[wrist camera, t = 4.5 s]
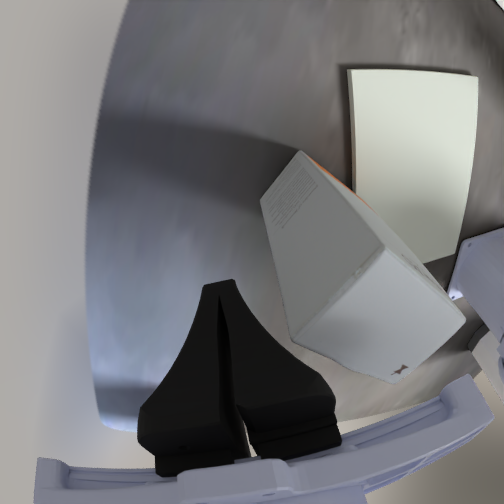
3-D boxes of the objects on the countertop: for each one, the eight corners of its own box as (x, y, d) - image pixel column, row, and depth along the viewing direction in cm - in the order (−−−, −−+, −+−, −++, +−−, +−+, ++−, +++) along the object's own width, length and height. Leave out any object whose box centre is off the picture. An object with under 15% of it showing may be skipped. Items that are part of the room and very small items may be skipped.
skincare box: (366, 200, 20) (471, 322, 10) (326, 246, 22) (393, 389, 11) (297, 144, 18) (387, 244, 8) (255, 199, 20) (285, 346, 9)
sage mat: (472, 75, 16) (478, 77, 16) (451, 249, 25) (454, 253, 25) (346, 69, 16) (351, 70, 15) (349, 279, 25) (352, 283, 24)
